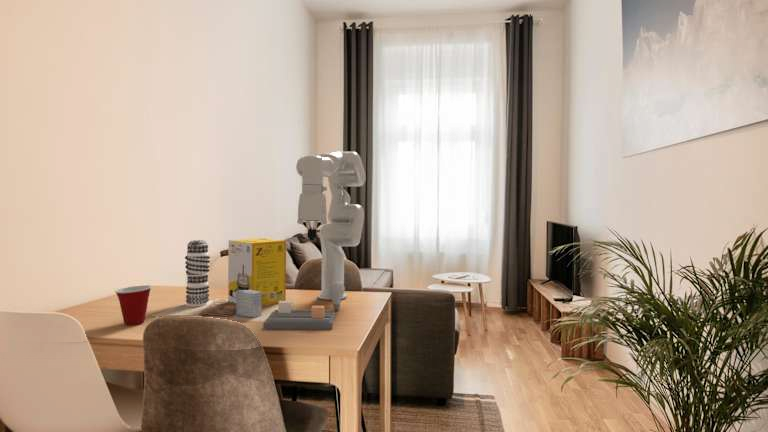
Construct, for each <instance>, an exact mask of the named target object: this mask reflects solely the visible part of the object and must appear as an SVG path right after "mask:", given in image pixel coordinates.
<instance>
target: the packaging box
mask: <svg viewBox="0 0 768 432" xmlns="http://www.w3.org/2000/svg"><path fill="white" fill-rule="evenodd" d="M227 247H228V249H227V250H228V253H227V254H228V260H227V261H228V272H227V275H228V278H227V280H228V281H227V282H228V286H227V287H228V288H227V289H228V290H227V291H228V292H227V295H228V296H227V301H231V302H234V303H233V304H235V303H236V292H238V291H241V290H252V291H260V292H261V307H263V306H271V305H274V304H275V305H276V304H278V303H279V301H287V299H286V297H287V295H286V292H287V291H286V290H287V288H286V287H287V282H286V281H287V273H286V272H287V240H283V239H275V238H267V237H266V238H265V237H264V238H263V237H261V238H245V239H243V238H242V239H230V240H229V239H228V246H227ZM231 302H230V303H231Z"/></svg>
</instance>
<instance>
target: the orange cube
mask: <svg viewBox="0 0 768 432" xmlns="http://www.w3.org/2000/svg"><path fill="white" fill-rule="evenodd" d="M325 306H326V305H312V306H311V310H312V318H324V317H325V310H326V309H325Z"/></svg>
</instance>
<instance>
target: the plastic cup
mask: <svg viewBox="0 0 768 432" xmlns="http://www.w3.org/2000/svg"><path fill="white" fill-rule="evenodd" d="M151 289H152V285H134V286H133V285H132V286H126V287H122V288H118V289H116V290H114V293H116V295H117V299H118V301H119V306H120V311H121V315H122V318H123V319H122V320H123V323H124V325H125V326H138V325H142V324H144V323H145V320H146V314H147V310H148V309H147V308H148V302H149V297H150V293H151Z"/></svg>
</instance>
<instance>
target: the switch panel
mask: <svg viewBox="0 0 768 432" xmlns="http://www.w3.org/2000/svg"><path fill="white" fill-rule="evenodd" d="M332 310H333V309H325V317H324V318H312V309H291V313H278V309H274V310H273V311H272V312H271V313H270V314H269V316H268V317H267V318H266V319H265V320H264V322H263V330H333V327H334V323H335V318H336V312H335V311H332Z"/></svg>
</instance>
